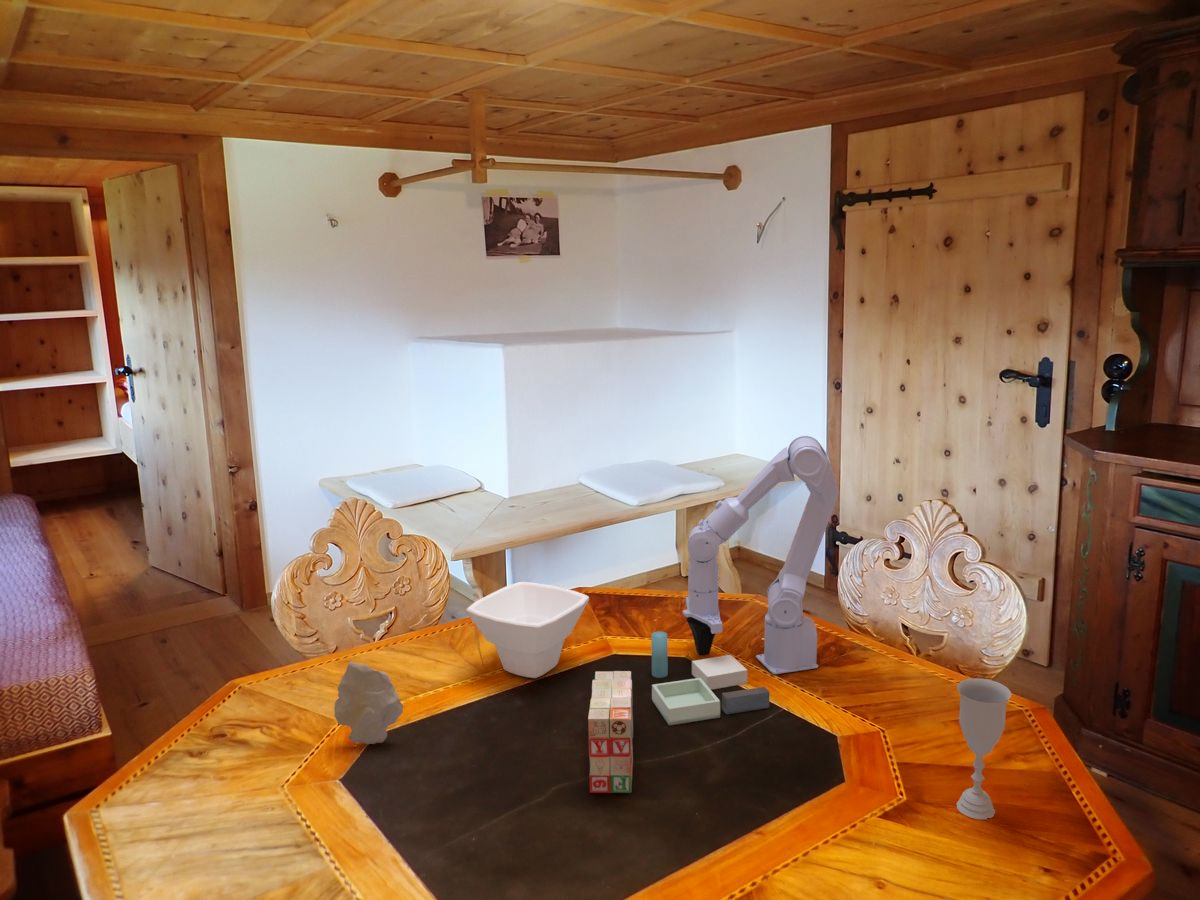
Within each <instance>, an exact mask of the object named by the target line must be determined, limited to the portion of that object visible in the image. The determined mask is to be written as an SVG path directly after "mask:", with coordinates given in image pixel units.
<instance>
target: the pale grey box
mask: <svg viewBox="0 0 1200 900" xmlns="http://www.w3.org/2000/svg"><path fill="white" fill-rule="evenodd" d="M691 675H692V676H693V677H694V679H695V678H701V679H702V680H703V681H704V682H705V684H706V685H707V686H708V687H709V688H710V690H711V691H713V690H717V689H722V688H729V687H733V686H739V685H744V684H748V669H747V668H746V667H745V666H744V665H742V663H740V661H738V660H737V659H736V658H735V657H734V656H733V655H731V654H725V655H721V656H719V655H718V656H713V657H709V658H703V659H697V660H691Z"/></svg>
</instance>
